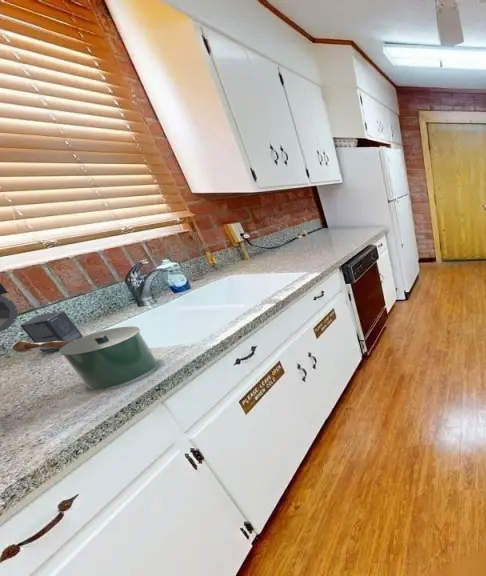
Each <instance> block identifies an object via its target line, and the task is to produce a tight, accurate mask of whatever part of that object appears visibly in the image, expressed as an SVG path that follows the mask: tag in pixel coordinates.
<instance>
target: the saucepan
mask: <svg viewBox="0 0 486 576" xmlns="http://www.w3.org/2000/svg"><path fill="white" fill-rule="evenodd" d="M45 348H61V349H58V353H59V354H60V355H61V356H63V357H64V358H65V359H66V361H67V362H68V363H69V365H70V366H71V367H72V369H73V370H74V371H75V373H76V374H77V375H78V377H79V378H80V379H81V381H82V382H83V383H84V384H85V386H86V387H87V388H88V389H90V390H94V391H96V390H103V389H104V390H105V389H108V388H113V387H116V386H120V385H122V384H126V383H128V382H131V381H133V380H135V379H137V378H140V377H142V376H144V375H145V374H147V373H149V372H150V371H152V370H153V369H155V368H156V366H157V365H158V360H157V359H156V357H155V355H154V354H153V352H152V351H151V349H150V347H149V345H148V344H147V342H146V340H145V339H144V337H143V335H142V334H141V329H140V328H139V327H137V326H120V327H114V328H109V329H105V330H101V331H97V332H93V333H91V334H87V335H83V337H82V338H79V339H77V340H69V341H51V342H34V341H33V340H27V339H26V340H25V339H23V340H18V341H15V342H14V343H13V344H12V345H11V350H13V352H16V353H28V352H30V351H32V350H40V349H45Z"/></svg>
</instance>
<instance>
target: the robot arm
mask: <svg viewBox="0 0 486 576" xmlns="http://www.w3.org/2000/svg"><path fill="white" fill-rule="evenodd" d="M8 293H9V292H8V291H7V289H6V288H5V286H4V285H3V284H2V283H0V295H1V296H3V295H4V294H5V295H6V294H8Z"/></svg>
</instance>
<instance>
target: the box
mask: <svg viewBox="0 0 486 576" xmlns="http://www.w3.org/2000/svg"><path fill="white" fill-rule="evenodd" d="M19 327H20V328H22V330H23V331H24V332H25V333H26V334H27V336H28V338H30V339H31V341H32V342H51V341H69V340H77V339H79V338H82V337H84V335H83V334H82V333H81V331H80V330H79V329H78V328H77V325H75V323H74V322H73V321H72V320H71V318H70V316H68V315H67V313H66V312H65V310H59V311H53V312H48V313H43V314H38V315H35V316H34V317H32V318H31V319H29V320H27V321H25V322H23V323H22V324H21V323H20V325H19ZM60 349H61V348H45V349H39V350H40V351H41V352H42V353H49V352H52V351H59V350H60Z"/></svg>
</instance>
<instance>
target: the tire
mask: <svg viewBox="0 0 486 576" xmlns="http://www.w3.org/2000/svg"><path fill="white" fill-rule="evenodd" d="M18 310H19V309H18V307H17V306H16V305H15V304H14V302H13V301H12V300H11V299H10V298H8V297H6V296H4V295H0V333H1V332H4V331H6V330H8V329H9V328H10V327H12V325H14V323H15V322H16V321H17V320H18V312H19V311H18Z"/></svg>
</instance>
